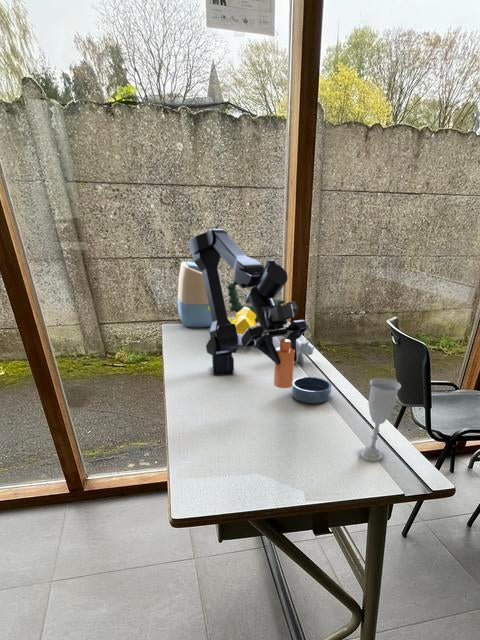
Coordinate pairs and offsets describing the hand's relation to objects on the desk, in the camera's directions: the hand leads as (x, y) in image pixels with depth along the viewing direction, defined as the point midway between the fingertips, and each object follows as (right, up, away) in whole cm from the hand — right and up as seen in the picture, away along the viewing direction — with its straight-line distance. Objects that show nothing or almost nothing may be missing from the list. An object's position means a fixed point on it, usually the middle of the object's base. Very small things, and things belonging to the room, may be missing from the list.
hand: (287, 362), depth 116 cm
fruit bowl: (-18, +29, +59) cm, 68 cm away
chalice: (+20, -26, -10) cm, 35 cm away
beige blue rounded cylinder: (-39, +43, +75) cm, 95 cm away
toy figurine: (-14, +48, +83) cm, 97 cm away
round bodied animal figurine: (+3, +15, +42) cm, 45 cm away
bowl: (+7, -5, +16) cm, 19 cm away
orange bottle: (-1, -4, +5) cm, 7 cm away
